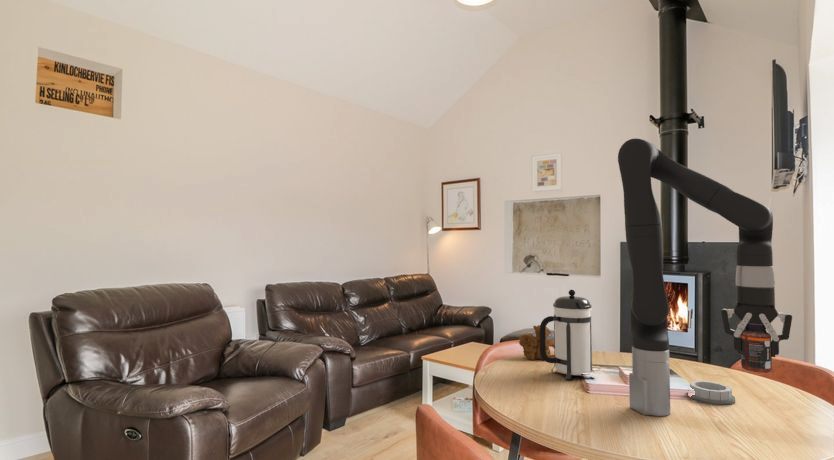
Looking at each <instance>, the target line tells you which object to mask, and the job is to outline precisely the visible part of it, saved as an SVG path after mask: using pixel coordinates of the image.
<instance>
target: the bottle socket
mask: <svg viewBox="0 0 834 460" xmlns="http://www.w3.org/2000/svg"><path fill="white" fill-rule="evenodd" d="M690 387H691V388H692V389H694V391H695V395H692V396H691V398H690V399H692V400H694V401H697V402H700V403H704V404H709V405H715V406H716V405H717V406H729V405H733V404H735V403H736V397H735V396H734V395H733V388H731V386H729V385H727V384H725V383H720V382H716V381H712V380H711V381H709V380H693V381H691V382H689V388H690Z"/></svg>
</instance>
